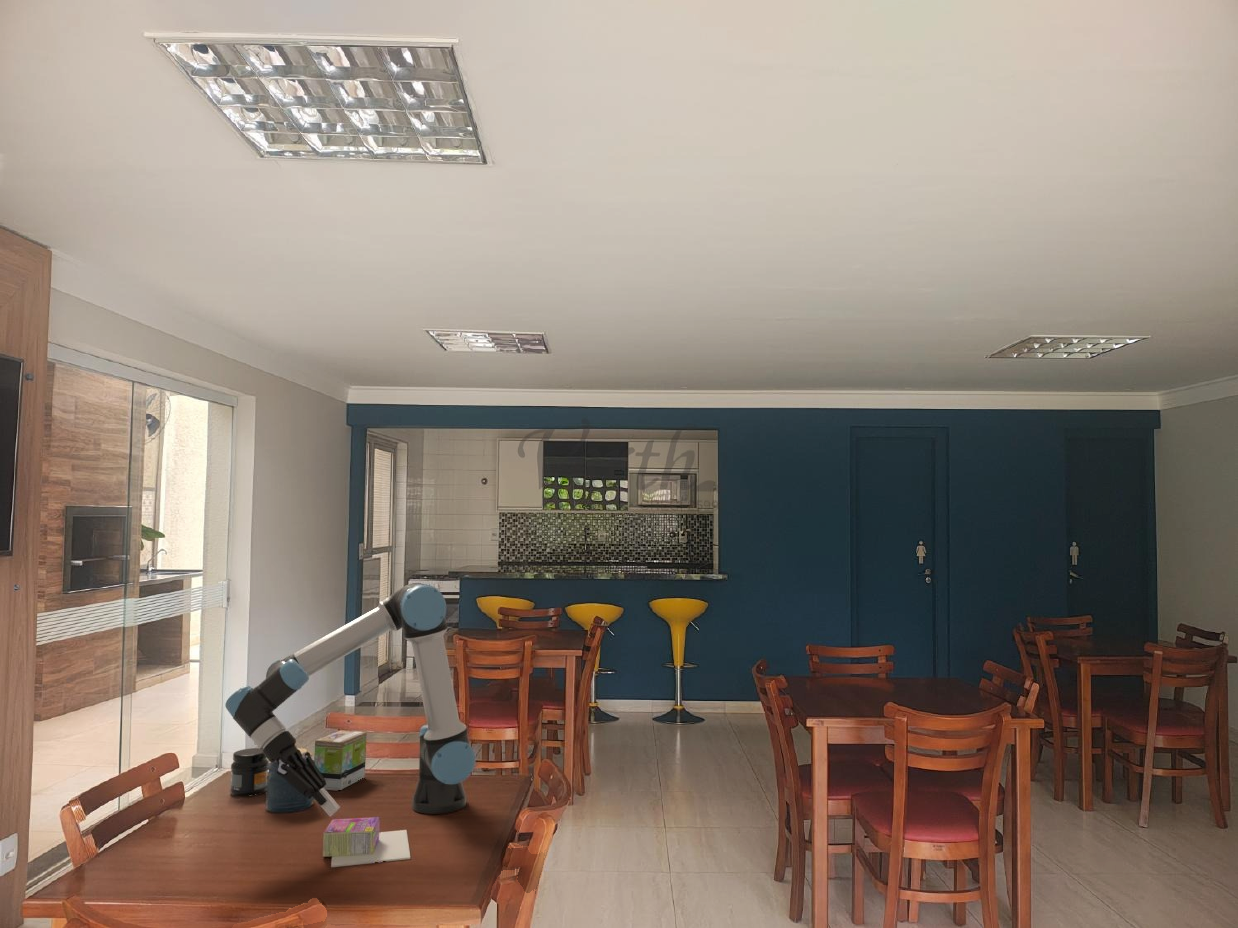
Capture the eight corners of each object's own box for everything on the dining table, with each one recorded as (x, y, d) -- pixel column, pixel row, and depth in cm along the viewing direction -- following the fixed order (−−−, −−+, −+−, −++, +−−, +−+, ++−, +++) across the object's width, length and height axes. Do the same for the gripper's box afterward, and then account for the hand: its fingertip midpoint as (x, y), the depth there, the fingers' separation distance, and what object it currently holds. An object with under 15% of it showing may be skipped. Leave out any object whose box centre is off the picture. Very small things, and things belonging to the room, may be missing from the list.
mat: (406, 831, 222) (406, 829, 222) (410, 858, 203) (410, 857, 203) (334, 838, 217) (334, 836, 217) (331, 867, 198) (331, 865, 198)
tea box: (341, 791, 257) (343, 741, 259) (311, 789, 259) (313, 739, 261) (366, 777, 272) (367, 730, 273) (337, 775, 274) (338, 729, 275)
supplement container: (275, 789, 259) (276, 749, 260) (247, 799, 249) (249, 757, 250) (250, 785, 263) (251, 746, 264) (221, 795, 254) (223, 753, 255)
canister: (323, 804, 245) (325, 741, 246) (284, 816, 234) (286, 751, 235) (294, 796, 252) (296, 736, 253) (255, 808, 241) (257, 744, 242)
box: (332, 818, 214) (380, 816, 215) (331, 841, 214) (379, 839, 215) (322, 832, 204) (372, 830, 205) (321, 856, 203) (372, 855, 204)
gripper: (278, 744, 219) (337, 814, 215) (249, 757, 206) (311, 831, 202) (298, 723, 218) (357, 793, 215) (270, 735, 206) (332, 809, 202)
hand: (335, 811), depth 208 cm, fingers closed
